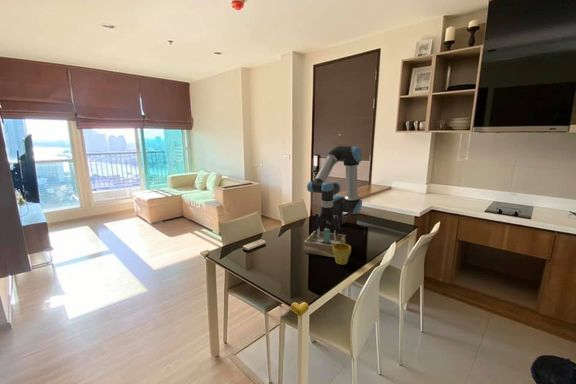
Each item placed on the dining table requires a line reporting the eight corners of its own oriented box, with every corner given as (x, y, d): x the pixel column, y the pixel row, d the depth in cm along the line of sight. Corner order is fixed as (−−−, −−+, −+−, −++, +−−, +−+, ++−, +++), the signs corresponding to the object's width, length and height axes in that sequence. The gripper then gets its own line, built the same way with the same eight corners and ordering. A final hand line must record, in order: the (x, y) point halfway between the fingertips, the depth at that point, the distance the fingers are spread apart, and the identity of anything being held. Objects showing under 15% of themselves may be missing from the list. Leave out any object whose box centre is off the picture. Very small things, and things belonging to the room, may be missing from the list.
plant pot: (339, 268, 153) (340, 251, 151) (328, 260, 162) (329, 245, 160) (354, 264, 157) (354, 248, 155) (342, 257, 166) (343, 241, 164)
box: (314, 240, 193) (314, 230, 192) (345, 244, 185) (345, 234, 184) (303, 252, 173) (303, 241, 172) (338, 258, 165) (338, 247, 164)
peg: (322, 247, 181) (323, 230, 178) (324, 245, 184) (324, 228, 182) (328, 248, 179) (329, 230, 177) (330, 246, 183) (330, 228, 180)
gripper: (308, 206, 177) (308, 238, 182) (343, 209, 169) (342, 243, 173) (311, 203, 184) (311, 234, 189) (346, 206, 175) (345, 239, 180)
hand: (326, 238), depth 181 cm, fingers open, 10 cm apart
